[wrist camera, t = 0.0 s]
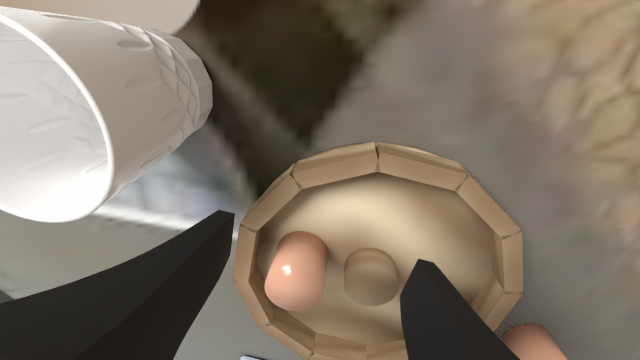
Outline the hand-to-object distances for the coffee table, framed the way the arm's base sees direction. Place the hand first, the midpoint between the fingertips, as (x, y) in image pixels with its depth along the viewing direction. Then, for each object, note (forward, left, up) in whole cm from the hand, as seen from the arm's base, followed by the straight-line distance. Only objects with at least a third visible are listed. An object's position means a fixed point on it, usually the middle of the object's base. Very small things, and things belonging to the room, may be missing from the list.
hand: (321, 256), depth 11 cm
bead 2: (-12, -21, -10) cm, 26 cm away
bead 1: (-8, 0, -9) cm, 12 cm away
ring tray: (-8, -5, -10) cm, 14 cm away
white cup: (+2, +12, -10) cm, 16 cm away
